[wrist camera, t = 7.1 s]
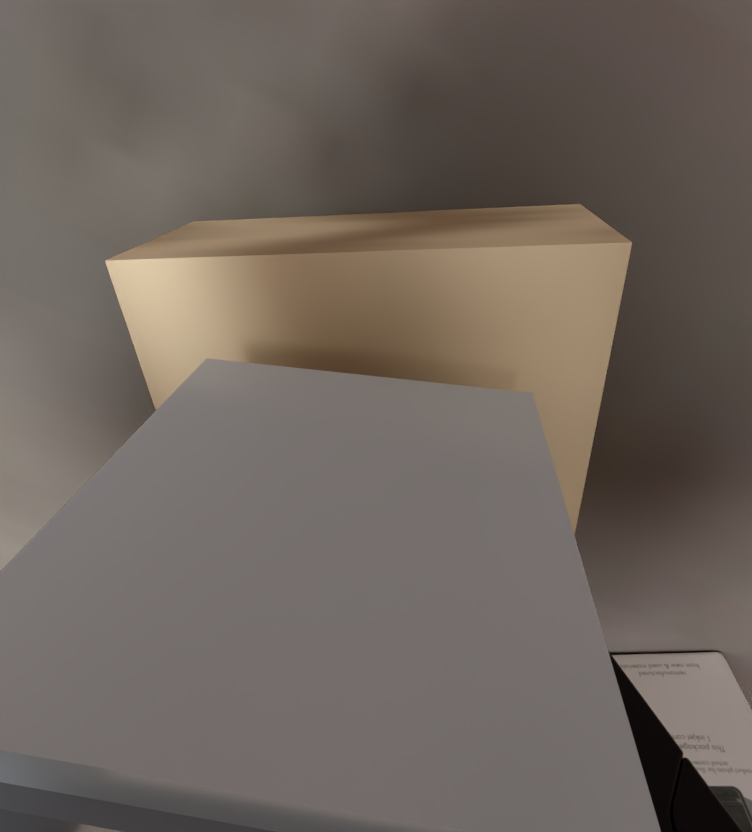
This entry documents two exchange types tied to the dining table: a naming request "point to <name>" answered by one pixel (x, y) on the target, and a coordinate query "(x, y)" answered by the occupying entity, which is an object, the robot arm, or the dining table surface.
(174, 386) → the beige square block
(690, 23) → the dining table surface
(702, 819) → the robot arm
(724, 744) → the ink box
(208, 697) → the gray paneled cube
